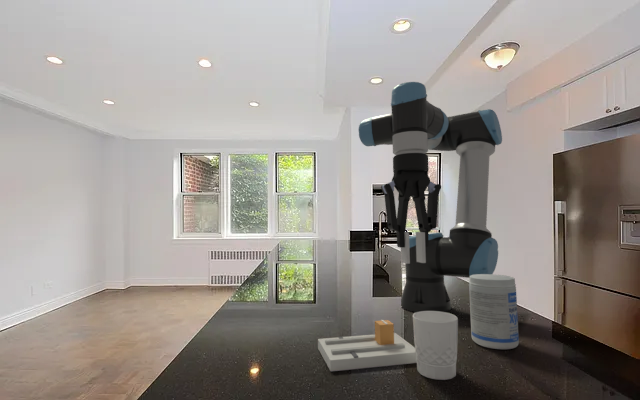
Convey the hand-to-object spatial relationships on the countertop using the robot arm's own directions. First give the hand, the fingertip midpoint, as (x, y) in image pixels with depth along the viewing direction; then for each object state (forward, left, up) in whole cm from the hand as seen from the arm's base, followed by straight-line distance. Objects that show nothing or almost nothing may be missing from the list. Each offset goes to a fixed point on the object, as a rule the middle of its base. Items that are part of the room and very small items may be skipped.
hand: (413, 262), depth 75 cm
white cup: (+1, +11, -19) cm, 22 cm away
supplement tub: (-19, 0, -19) cm, 27 cm away
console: (+11, 0, -19) cm, 22 cm away
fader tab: (+7, 0, -16) cm, 18 cm away
